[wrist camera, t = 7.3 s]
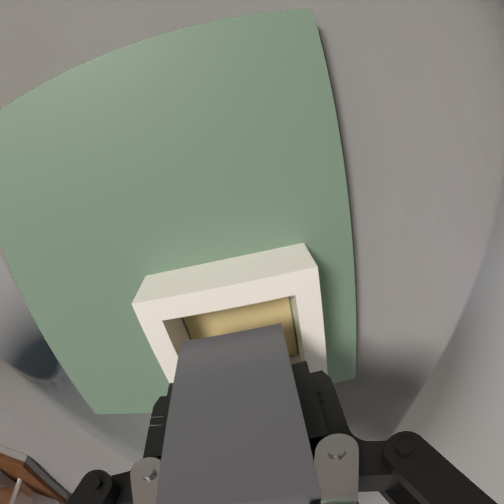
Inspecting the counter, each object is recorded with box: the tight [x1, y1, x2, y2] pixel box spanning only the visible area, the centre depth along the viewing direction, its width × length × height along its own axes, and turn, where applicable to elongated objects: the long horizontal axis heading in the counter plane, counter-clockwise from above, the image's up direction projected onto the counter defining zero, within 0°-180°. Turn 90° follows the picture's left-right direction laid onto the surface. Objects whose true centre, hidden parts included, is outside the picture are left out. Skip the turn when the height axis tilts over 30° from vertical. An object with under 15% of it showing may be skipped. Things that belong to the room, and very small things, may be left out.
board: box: [0, 9, 356, 414], centre depth 13 cm, size 20×18×4 cm
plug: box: [155, 323, 321, 504], centre depth 10 cm, size 5×4×7 cm
